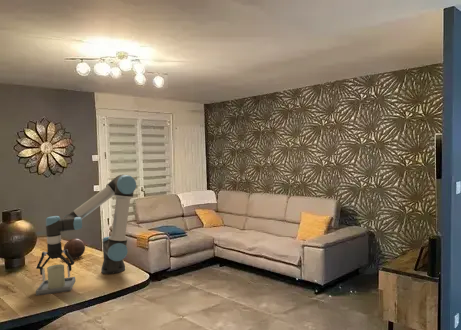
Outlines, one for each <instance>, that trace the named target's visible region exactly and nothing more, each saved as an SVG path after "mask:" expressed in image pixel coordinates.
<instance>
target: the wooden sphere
mask: <svg viewBox="0 0 461 330" xmlns="http://www.w3.org/2000/svg"><path fill="white" fill-rule="evenodd" d="M66 249H68V253H69V254H70V256H71V258H72V259H73V260H76V259H79V258H81V257H82V256H83V254H85V251H86V246H85V243H84V242H83V241H82V239H79V238H72V239H69V240H68V241H66V242H65V244H64V246H63V250H66ZM64 256H66V254H64Z"/></svg>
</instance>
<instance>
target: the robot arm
mask: <svg viewBox="0 0 461 330" xmlns="http://www.w3.org/2000/svg"><path fill="white" fill-rule="evenodd" d="M136 189H137V182H136V180H135V178H134V176H131V175H129V174H119V175H117V176H115V177H114V178H113V179H112V180H111V181H109V182H108V183H107V184H106V186H105V187H104V188H103V189H102V190H100V191H99V192H98V193H96V194H94V195H93V196H92V197H90V198H89V199H88V200H87V201H85V202H83V203H82V204H81V205H80V206H78V207H77V208H75V209H73V211H71V212H70V213H69V214H66V215H65V216H63V218H61V217H60V216H59V215H53V216H48V217H46V218H45V231H46V245H47V247H46V248H47V251H42V252H41V254H40V255H41V257H40V259H39V261H38V262H37V265H36V267H35V269H36V270H39V274H40V275H41V279H42V282H43V281H44V280H46V273H45V268H44V267H45V265H47V263H49V260H57V259H60V260H62V261H63V262H64V263H65V264H66V265H67V268H66V269H67V278H69V277H71V271H72V266H73V265H74V264H75V261H74V259H72V258H71V256H70V254H69V253H68V249H66V250H64V249H62V234H61V233H62V232H69V231H77V230H81V229H82V228H83V219H84V218H86V217H87V216H88V215H90V214H92V212H94V211H95V210H96V209H98V208H99V207H100V206H101V205H103V204H104V203H106V202H107V201H108V200H110V199H111V198H113V197H115V207H114V213H113V221H112V228H111V233H110V235H109V236H104V237H103V238H102V250H103V251H102V252H103V255H102V256H103V261H102V265H101V273H102V274H104V275H112V274H113V275H114V274H119V273H121V272H124V271H125V269H126V265H125V263H124V259H125V258H126V257H127V255H128V250H129V249H128V247H127V246H128V245H127V244H128V237H126V233H127V228H128V227H127V226H128V218H129V210H130V204H131V203H130V202H131V200H132V199H133V197H134V192H135V190H136ZM63 254H64V255H63ZM65 254H66V255H65ZM46 255H47V256H48V257H47V259H46V260H45V261H44V262H43V260H44V259H45V257H46ZM66 257H67V258H66ZM42 263H43V264H42ZM41 264H42V265H41Z"/></svg>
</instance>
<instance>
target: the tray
mask: <svg viewBox="0 0 461 330" xmlns="http://www.w3.org/2000/svg"><path fill="white" fill-rule="evenodd" d="M75 282H76V276H72V277H71V276H70V277H65V286H63V287H60V288H52V289H49V288H48V279H45V280H44V281H43V280H42V282H41V283H40V284H39V286H38V287H37V289H36V290H35V296H37V297H38V296H43V295H51V294H52V295H53V294H57V293H67V292H71V291H72V289H73V287H74V285H75Z"/></svg>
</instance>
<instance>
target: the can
mask: <svg viewBox="0 0 461 330" xmlns="http://www.w3.org/2000/svg"><path fill="white" fill-rule="evenodd" d="M46 269H47V271H46V272H47V280H48V288H49V289H52V288H60V287H63V286H65V278H66V277H65V265H64V264H60V263H59V264H52V265H49V266H48V267H47V268H46Z"/></svg>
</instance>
